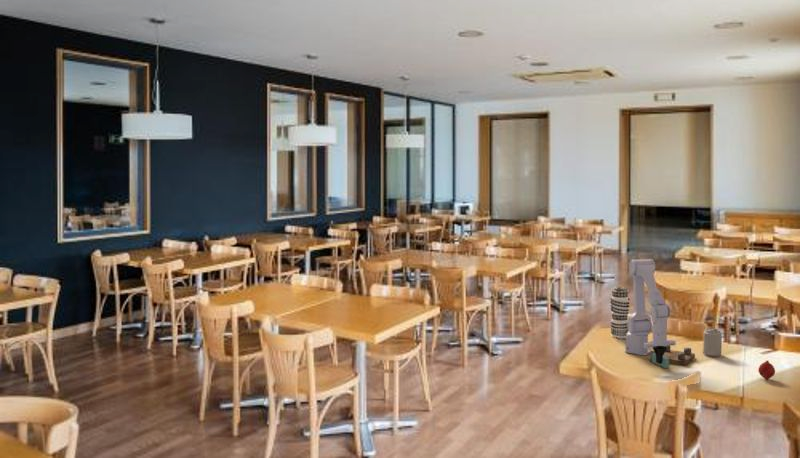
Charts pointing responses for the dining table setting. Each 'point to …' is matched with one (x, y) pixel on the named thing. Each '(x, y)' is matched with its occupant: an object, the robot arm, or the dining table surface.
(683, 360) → the stool seat
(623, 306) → the grey patterned cylinder piece
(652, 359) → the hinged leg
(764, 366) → the onion
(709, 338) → the can
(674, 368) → the dining table surface
